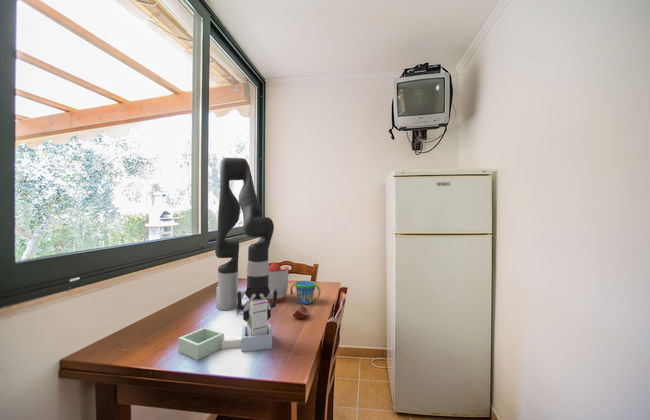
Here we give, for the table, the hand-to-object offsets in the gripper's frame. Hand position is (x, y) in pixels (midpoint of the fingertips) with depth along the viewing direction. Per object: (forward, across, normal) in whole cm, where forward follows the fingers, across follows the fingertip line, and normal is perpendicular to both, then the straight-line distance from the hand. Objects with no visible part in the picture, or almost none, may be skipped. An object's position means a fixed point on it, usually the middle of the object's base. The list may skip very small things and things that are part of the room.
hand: (257, 320), depth 96 cm
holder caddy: (+8, -10, 0) cm, 13 cm away
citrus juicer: (+9, +10, +49) cm, 50 cm away
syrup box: (+7, 0, 0) cm, 7 cm away
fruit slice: (+8, +19, +20) cm, 29 cm away
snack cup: (+8, +25, +39) cm, 47 cm away
